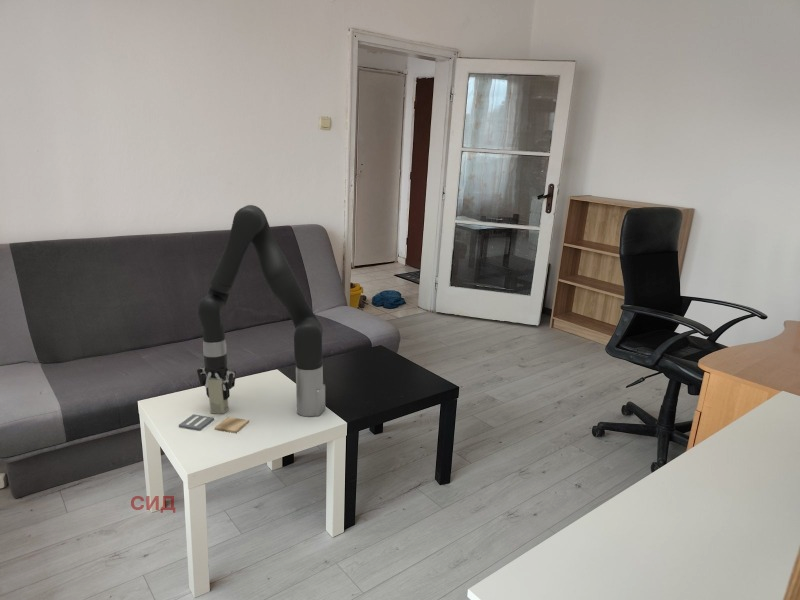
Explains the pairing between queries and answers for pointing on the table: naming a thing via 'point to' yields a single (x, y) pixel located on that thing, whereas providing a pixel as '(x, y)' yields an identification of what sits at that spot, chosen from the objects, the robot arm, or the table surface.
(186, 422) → the pad slate
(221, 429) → the pad oak
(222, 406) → the box
